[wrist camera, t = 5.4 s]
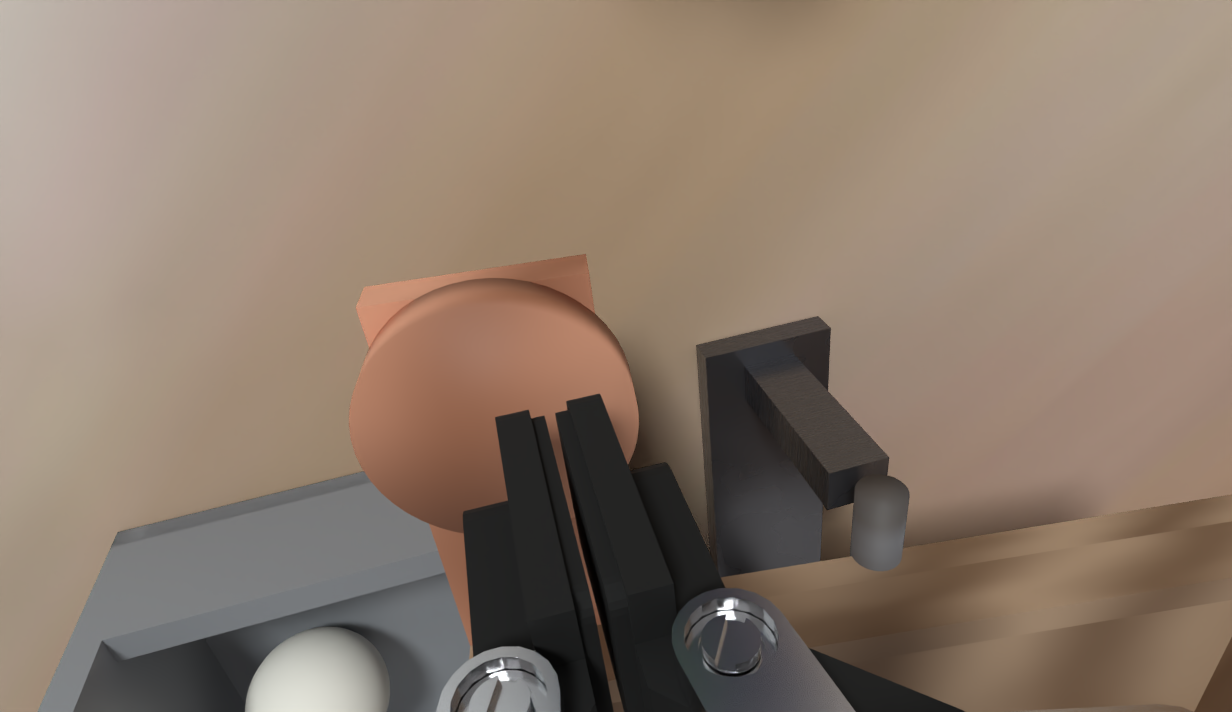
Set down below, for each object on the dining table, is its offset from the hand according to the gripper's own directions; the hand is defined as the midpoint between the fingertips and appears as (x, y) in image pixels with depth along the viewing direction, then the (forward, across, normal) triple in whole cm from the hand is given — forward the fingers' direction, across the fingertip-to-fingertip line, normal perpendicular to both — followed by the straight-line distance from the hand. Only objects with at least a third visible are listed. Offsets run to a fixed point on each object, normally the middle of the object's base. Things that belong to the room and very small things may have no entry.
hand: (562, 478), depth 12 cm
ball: (+6, +8, +12) cm, 15 cm away
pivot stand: (+9, -7, +12) cm, 16 cm away
